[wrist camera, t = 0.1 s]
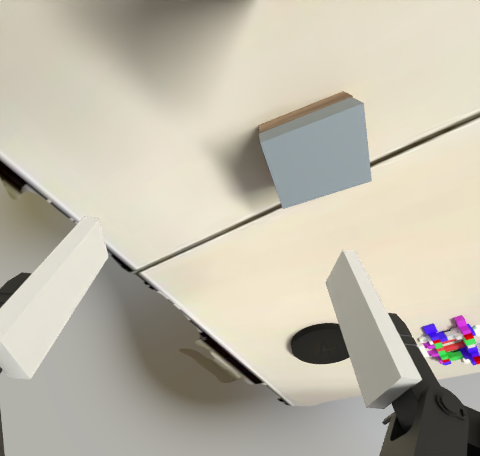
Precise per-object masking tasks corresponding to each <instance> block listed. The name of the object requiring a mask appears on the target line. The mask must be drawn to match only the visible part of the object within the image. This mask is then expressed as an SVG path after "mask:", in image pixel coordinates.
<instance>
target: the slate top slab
mask: <svg viewBox="0 0 480 456" xmlns="http://www.w3.org/2000/svg"><path fill="white" fill-rule="evenodd" d="M259 139H260V144H261V147H262V150H263V153H264V156H265V159H266V161H267V164H268V167H269V170H270V173H271V176H272V179H273V182H274V184H275V187H276V190H277V193H278V196H279V199H280V202H281V204H282V207H283V209H284V208H288V207H291V206H294V205H297V204H300V203H303V202H307V201H310V200H313V199H316V198H319V197H322V196H326V195H329V194H332V193H335V192H338V191H341V190H345V189H348V188H351V187H354V186H357V185H360V184H364V183H367V182H370V181H372V180H371V171H370V161H369V151H368V141H367V132H366V122H365V112H364V103H362V102H360V101H358V100H356V99H354V98H352V97H350V98H347V99H345V100H342V101H340V102H337V103H335V104H332V105H330V106H327V107H325V108H322V109H320V110H317V111H314V112H312V113H309V114H307V115H304V116H302V117H299V118H297V119H294V120H292V121H289V122H287V123H284V124H282V125H279V126H277V127H274V128H272V129H269V130H266V131H264V132H261V133H259Z"/></svg>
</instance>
